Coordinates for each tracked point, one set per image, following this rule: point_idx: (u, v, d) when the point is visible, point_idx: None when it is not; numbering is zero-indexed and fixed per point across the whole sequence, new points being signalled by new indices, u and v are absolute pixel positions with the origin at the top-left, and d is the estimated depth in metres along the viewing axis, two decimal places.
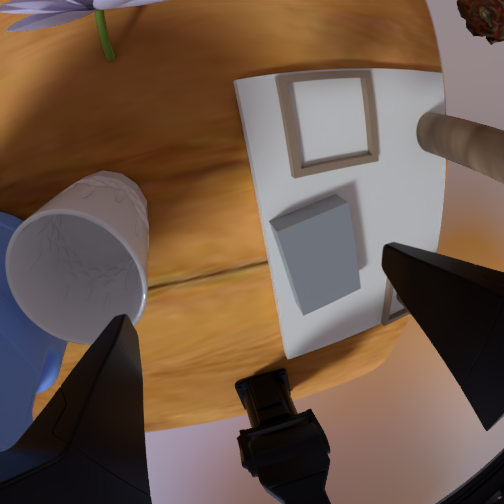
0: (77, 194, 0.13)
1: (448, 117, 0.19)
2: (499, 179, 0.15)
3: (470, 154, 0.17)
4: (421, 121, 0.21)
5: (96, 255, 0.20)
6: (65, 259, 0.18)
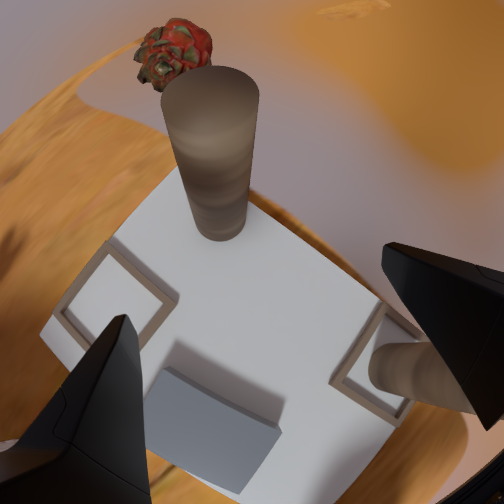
0: None
1: None
2: (221, 179, 0.14)
3: (198, 200, 0.16)
4: None
5: None
6: None
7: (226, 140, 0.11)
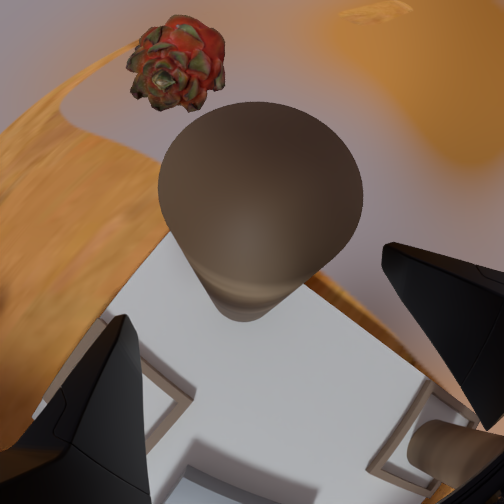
0: None
1: None
2: (268, 303, 0.09)
3: (224, 307, 0.11)
4: None
5: None
6: None
7: (299, 281, 0.06)
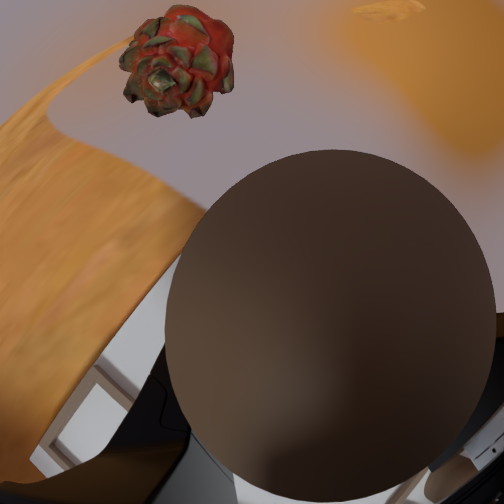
0: None
1: None
2: None
3: None
4: None
5: None
6: None
7: None
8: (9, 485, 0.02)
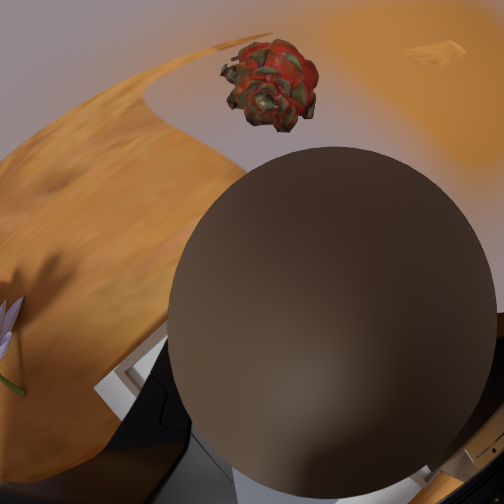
0: None
1: None
2: None
3: None
4: None
5: None
6: None
7: None
8: (9, 485, 0.02)
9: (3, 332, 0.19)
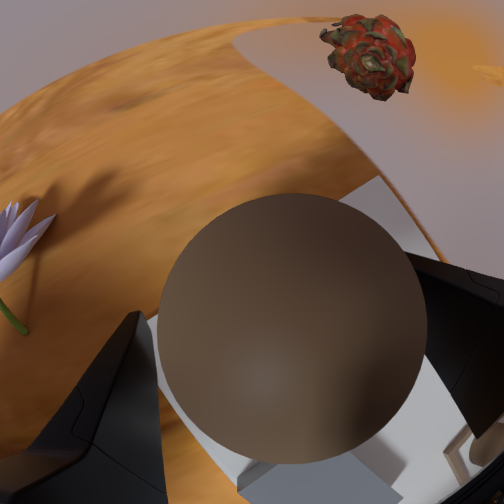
0: None
1: None
2: None
3: None
4: None
5: None
6: None
7: None
8: None
9: None
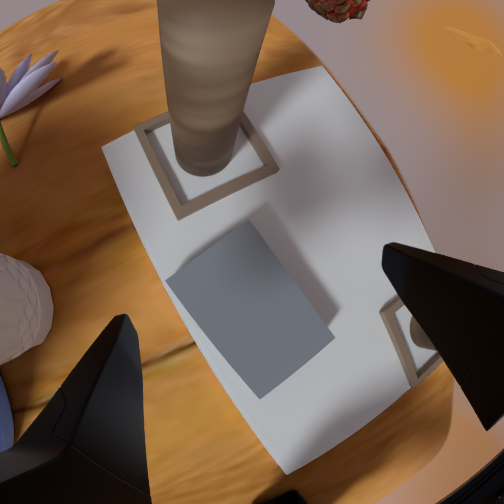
0: None
1: None
2: (213, 93, 0.11)
3: (182, 121, 0.13)
4: None
5: None
6: None
7: (229, 42, 0.08)
8: None
9: None
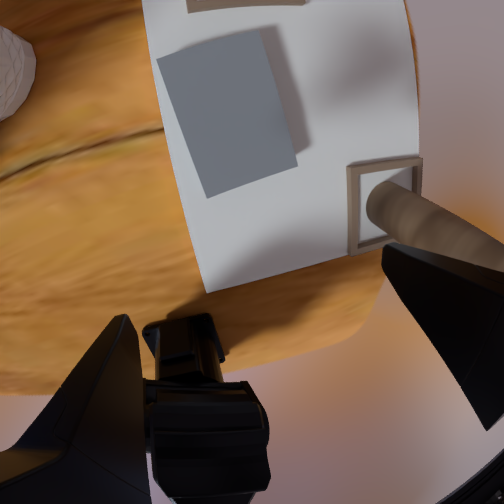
0: None
1: None
2: None
3: None
4: None
5: None
6: None
7: None
8: None
9: None
